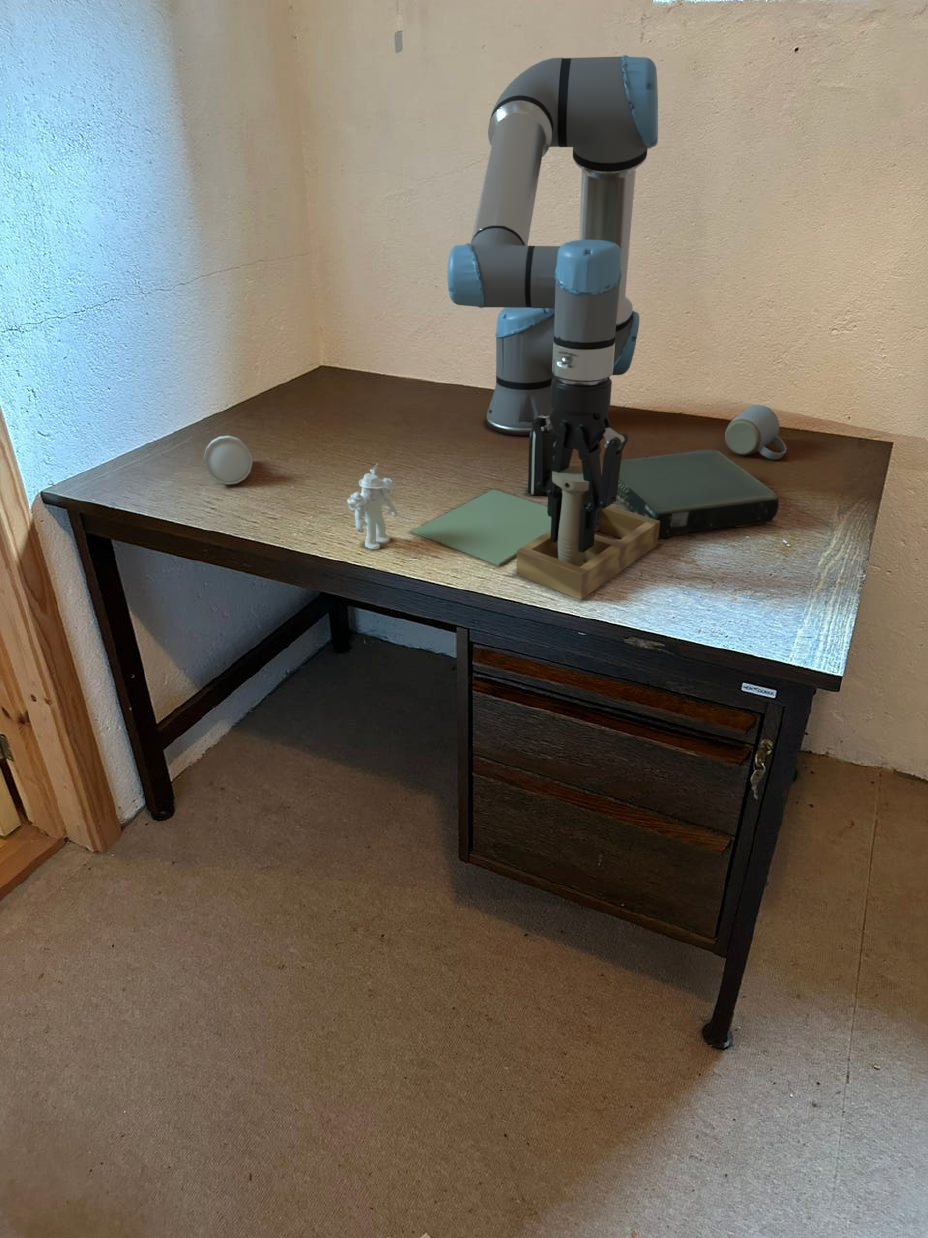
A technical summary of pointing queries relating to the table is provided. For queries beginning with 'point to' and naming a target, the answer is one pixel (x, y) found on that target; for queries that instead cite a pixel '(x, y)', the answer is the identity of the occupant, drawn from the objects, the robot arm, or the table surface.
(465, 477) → the table surface
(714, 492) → the network switch
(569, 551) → the handle
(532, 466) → the battery charger
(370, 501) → the flower shoulder figurine
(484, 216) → the robot arm
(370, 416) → the table surface
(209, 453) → the spotlight
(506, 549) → the mat
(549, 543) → the rack
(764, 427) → the ceramic mug
